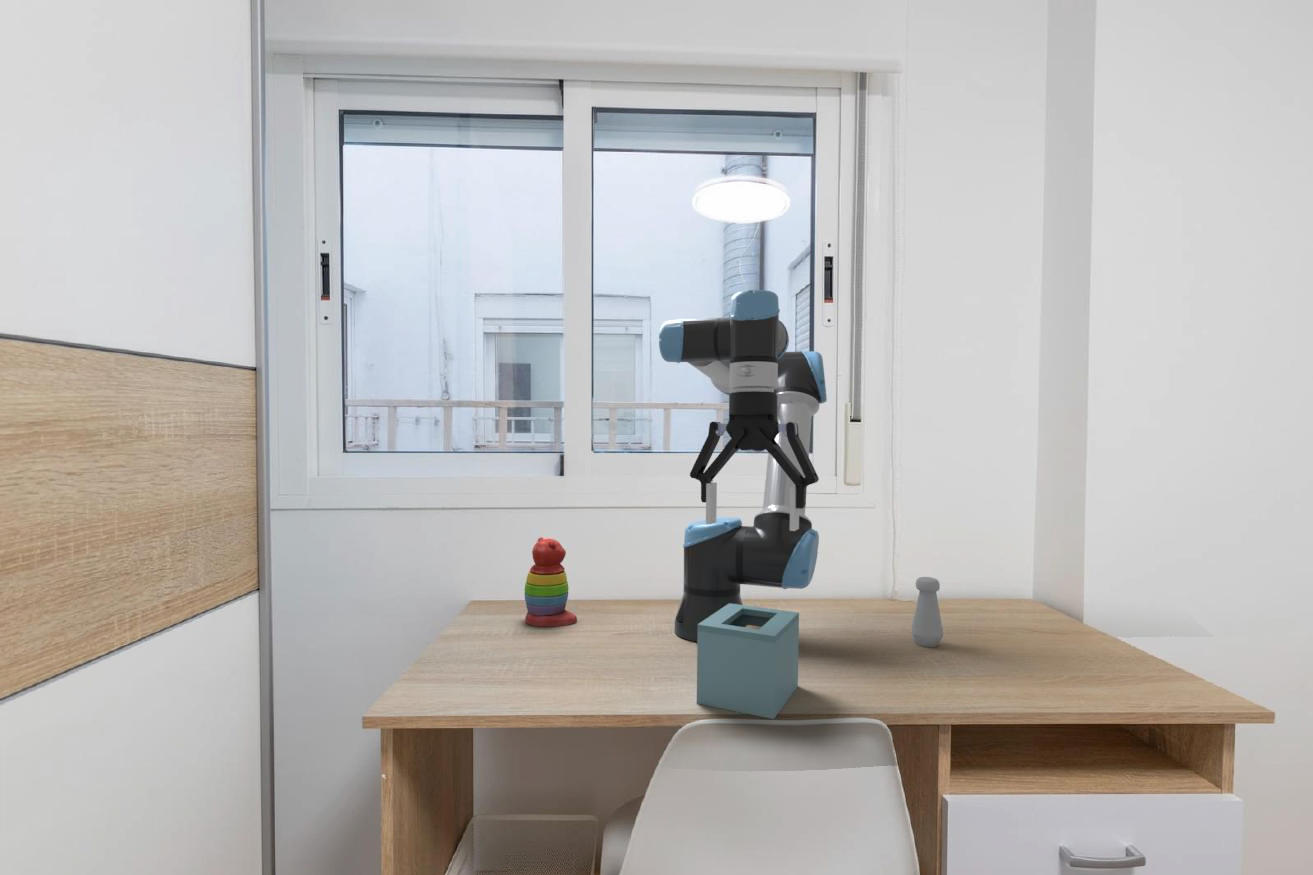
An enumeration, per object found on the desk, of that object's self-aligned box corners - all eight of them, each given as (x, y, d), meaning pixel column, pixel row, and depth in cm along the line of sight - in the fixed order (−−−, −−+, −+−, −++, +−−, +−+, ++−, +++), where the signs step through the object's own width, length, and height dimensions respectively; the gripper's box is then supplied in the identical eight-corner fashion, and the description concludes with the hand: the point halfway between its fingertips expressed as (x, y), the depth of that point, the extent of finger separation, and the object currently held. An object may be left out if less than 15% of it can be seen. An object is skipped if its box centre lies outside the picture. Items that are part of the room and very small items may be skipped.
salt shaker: (945, 649, 126) (946, 582, 126) (914, 647, 127) (915, 580, 127) (938, 640, 132) (940, 575, 132) (908, 638, 133) (909, 574, 133)
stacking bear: (580, 623, 141) (581, 540, 141) (536, 630, 135) (537, 544, 135) (558, 611, 150) (559, 533, 150) (516, 618, 144) (516, 536, 144)
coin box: (696, 703, 100) (697, 624, 100) (728, 673, 112) (729, 603, 112) (773, 719, 95) (774, 636, 95) (797, 686, 107) (798, 612, 107)
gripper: (671, 391, 105) (669, 523, 106) (828, 388, 94) (826, 536, 95) (689, 393, 112) (688, 518, 112) (839, 391, 101) (836, 529, 101)
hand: (751, 526), depth 103 cm, fingers open, 13 cm apart
